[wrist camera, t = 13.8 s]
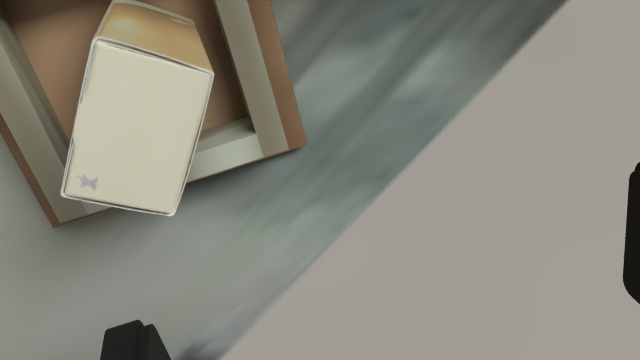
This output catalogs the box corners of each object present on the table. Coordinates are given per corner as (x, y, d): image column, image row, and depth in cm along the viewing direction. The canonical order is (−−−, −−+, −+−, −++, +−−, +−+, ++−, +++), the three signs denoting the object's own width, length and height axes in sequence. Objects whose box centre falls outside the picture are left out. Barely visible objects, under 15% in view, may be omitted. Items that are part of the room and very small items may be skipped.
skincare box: (167, 122, 33) (174, 227, 22) (88, 102, 31) (55, 205, 21) (197, 13, 31) (220, 72, 20) (113, -14, 29) (91, 35, 19)
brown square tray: (230, -139, 29) (240, -145, 26) (303, 139, 37) (319, 163, 33) (-94, -56, 27) (-130, -50, 24) (55, 219, 35) (45, 254, 31)
